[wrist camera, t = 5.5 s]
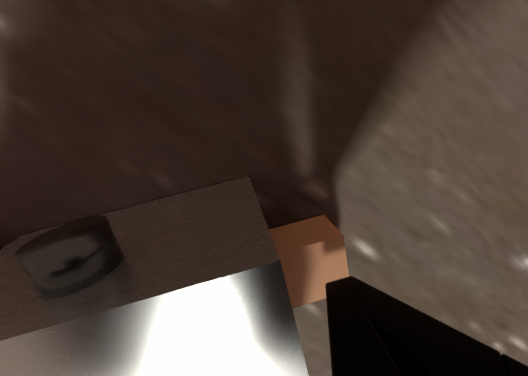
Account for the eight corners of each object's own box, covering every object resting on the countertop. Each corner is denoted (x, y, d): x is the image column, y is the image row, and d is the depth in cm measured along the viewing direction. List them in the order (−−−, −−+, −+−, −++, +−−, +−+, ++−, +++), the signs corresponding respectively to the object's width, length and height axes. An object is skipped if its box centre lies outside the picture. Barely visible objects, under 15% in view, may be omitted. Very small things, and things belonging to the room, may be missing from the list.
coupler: (312, 144, 9) (423, 194, 4) (341, 315, 11) (434, 481, 6) (-136, 258, 8) (-710, 507, 3) (-5, 420, 10) (-215, 714, 5)
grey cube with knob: (242, 151, 8) (269, 211, 4) (285, 320, 11) (336, 494, 6) (8, 210, 8) (-298, 366, 3) (104, 375, 10) (2, 613, 5)
